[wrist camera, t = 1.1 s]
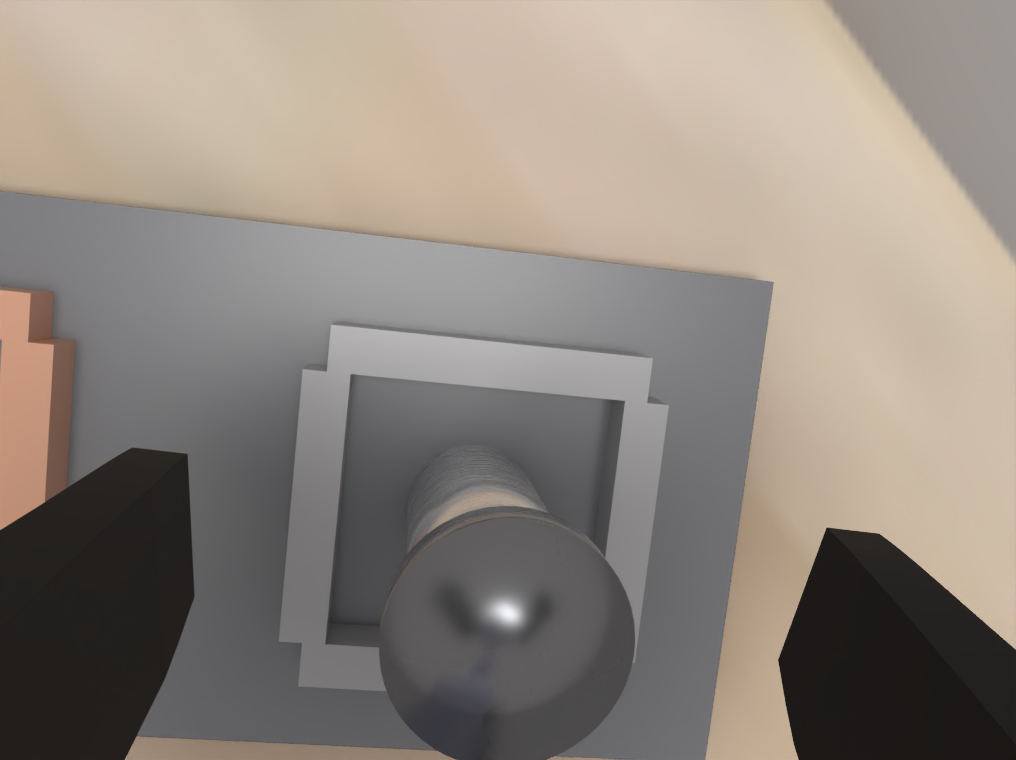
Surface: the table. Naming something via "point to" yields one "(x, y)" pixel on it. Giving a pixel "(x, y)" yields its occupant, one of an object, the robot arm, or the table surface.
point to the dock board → (378, 440)
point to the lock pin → (500, 617)
